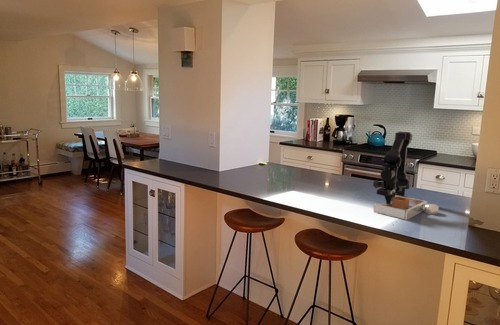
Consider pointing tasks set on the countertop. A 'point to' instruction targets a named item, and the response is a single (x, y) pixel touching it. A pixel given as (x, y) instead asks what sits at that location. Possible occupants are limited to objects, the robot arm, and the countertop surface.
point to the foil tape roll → (431, 209)
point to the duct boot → (415, 209)
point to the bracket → (399, 203)
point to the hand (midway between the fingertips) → (388, 205)
